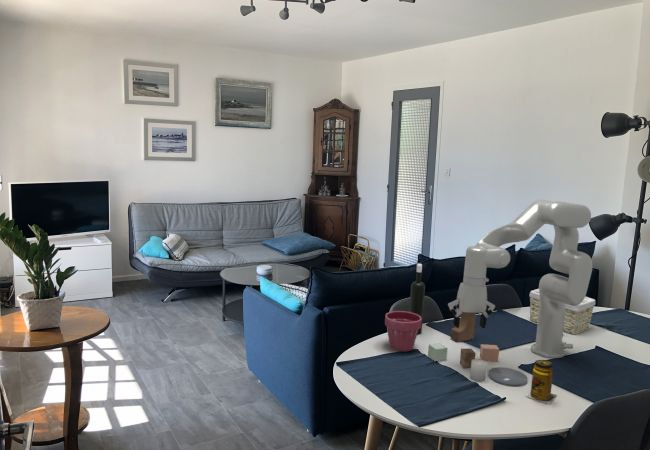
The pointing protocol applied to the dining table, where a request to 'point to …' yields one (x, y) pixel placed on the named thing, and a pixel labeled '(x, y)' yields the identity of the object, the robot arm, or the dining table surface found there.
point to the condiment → (542, 382)
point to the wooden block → (464, 327)
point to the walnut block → (466, 357)
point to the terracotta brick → (489, 353)
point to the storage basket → (567, 313)
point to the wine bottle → (417, 296)
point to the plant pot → (402, 329)
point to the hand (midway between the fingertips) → (469, 326)
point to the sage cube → (437, 352)
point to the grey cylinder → (478, 370)
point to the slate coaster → (507, 376)
